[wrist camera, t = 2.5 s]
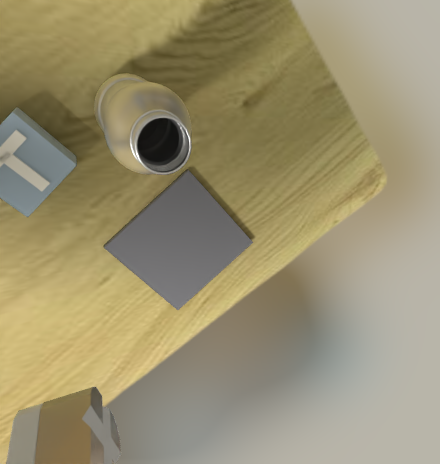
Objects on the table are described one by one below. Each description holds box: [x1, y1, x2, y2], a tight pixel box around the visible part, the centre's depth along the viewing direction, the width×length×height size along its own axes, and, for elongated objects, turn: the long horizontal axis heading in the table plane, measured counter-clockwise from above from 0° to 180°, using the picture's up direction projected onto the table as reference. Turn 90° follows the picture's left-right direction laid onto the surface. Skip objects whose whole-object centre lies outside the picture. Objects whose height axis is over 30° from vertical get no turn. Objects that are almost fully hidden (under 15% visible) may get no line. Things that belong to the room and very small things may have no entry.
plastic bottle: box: [94, 73, 192, 175], centre depth 35 cm, size 6×7×20 cm
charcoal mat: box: [104, 169, 253, 310], centre depth 51 cm, size 13×13×1 cm
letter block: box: [0, 107, 77, 217], centre depth 40 cm, size 7×7×4 cm
